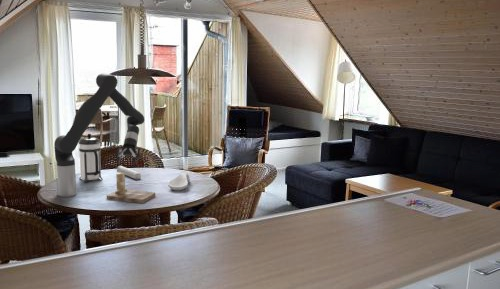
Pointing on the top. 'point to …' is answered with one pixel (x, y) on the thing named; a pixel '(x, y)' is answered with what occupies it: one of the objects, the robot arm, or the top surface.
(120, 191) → the tan wooden column
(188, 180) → the spoon rest
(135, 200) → the board
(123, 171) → the tube
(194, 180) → the top surface
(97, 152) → the coffee press
